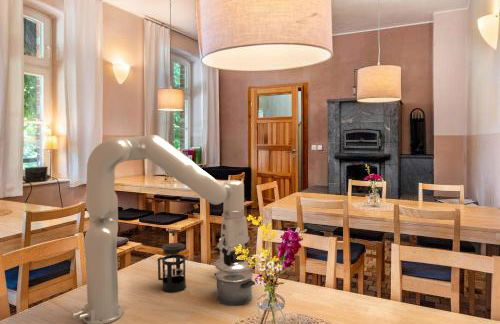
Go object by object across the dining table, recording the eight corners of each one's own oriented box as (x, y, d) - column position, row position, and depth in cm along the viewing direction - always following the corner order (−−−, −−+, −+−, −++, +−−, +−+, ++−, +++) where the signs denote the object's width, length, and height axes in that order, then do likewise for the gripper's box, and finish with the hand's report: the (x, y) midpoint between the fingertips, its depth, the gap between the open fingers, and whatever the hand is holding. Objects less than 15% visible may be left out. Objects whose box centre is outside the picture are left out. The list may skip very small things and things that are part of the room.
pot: (236, 311, 122) (236, 286, 121) (205, 296, 134) (205, 273, 133) (263, 299, 132) (263, 275, 131) (232, 285, 144) (232, 263, 143)
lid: (232, 275, 122) (232, 260, 122) (207, 265, 132) (207, 251, 132) (261, 265, 132) (261, 251, 132) (235, 256, 142) (235, 243, 142)
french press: (191, 283, 146) (190, 228, 144) (182, 293, 136) (181, 234, 135) (164, 281, 148) (163, 227, 146) (153, 291, 138) (152, 233, 137)
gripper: (222, 219, 122) (223, 271, 123) (257, 212, 134) (257, 259, 135) (208, 216, 127) (209, 265, 128) (243, 209, 139) (244, 254, 141)
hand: (234, 261), depth 132 cm, fingers closed on lid, 6 cm apart
